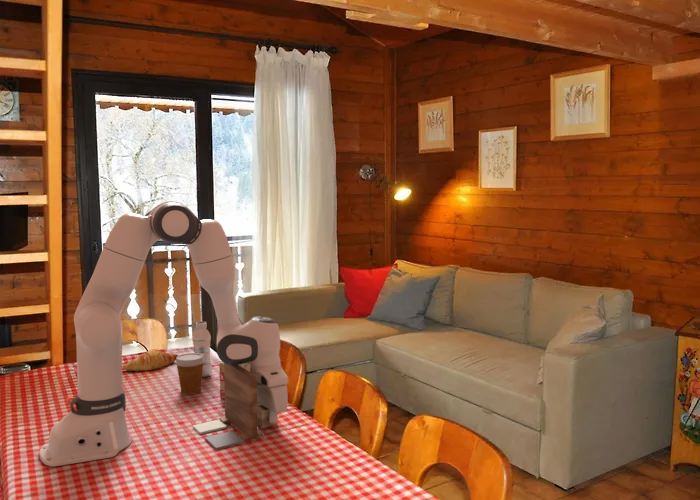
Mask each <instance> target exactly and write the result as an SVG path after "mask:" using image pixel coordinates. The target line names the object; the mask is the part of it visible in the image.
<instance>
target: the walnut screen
mask: <svg viewBox="0 0 700 500" xmlns="http://www.w3.org/2000/svg"><path fill="white" fill-rule="evenodd" d="M224 385H225V399H224V414H225V415H224V416H223V417H219V420H220V421H221V422H223V423H224V424H225V425H226V426H227V425H229V424H230V425H231V426H232V427H233V428H235V430H236V431H238V432H239V434H238V436H239V437H240V438H241V439H243V440H244V443H247V442H254V441H257V440H259V439H261V438H264V432H263V431H262V430H260V429H258V424H257V381H256V375H254V374H252V373H251V372H249V371H248V370H246V369H244V368H243V367H241V366H239V365H228V364H225V363H224Z"/></svg>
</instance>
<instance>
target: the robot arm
mask: <svg viewBox="0 0 700 500" xmlns="http://www.w3.org/2000/svg"><path fill="white" fill-rule="evenodd" d="M158 241H163V242H166V243H169V244H173V245H174V244H176V245H178V244H179V245H185V246H186V247H187V249H188V251H189V254H190V257H191V263H192V267H193V270H194V273H195V276H196V279H197V280H198V283H199V286H200V287H201V288H203V289H204V291H206V292H207V293H208V295H209V296H210V298H211V302H212V304H213V308H214V311H215V317H216V320H217V330H216V335H215V343H216V355H217V357H218V358H219V360H220V362H221V361H222V362H224V363H225V364H228V365H239V364H244V363H248V362H250V368H249V372H251V373H252V374H254V375H256V381H257V406H258V405H264V406H265V407H267V408H268V409H269V415H268V416H267V418H268V419H267V420H268V421H269V422H270V423H273V422H275V416H276V413H278V414H280V413H284V412H286V411H287V409H288V402H289V401H288V400H289V399H288V397H289V396H288V385H287V384H289V377H288V374H286V373H285V371H284V369H283V367H282V366H281V358H280V357H281V356H280V350H281V334H280V328H279V327H280V326H279V325H278V324H279V323H277V322H276V320H275V319H274V318H271V317H269V316H264V315H262V316H261V315H258V316H253V317H252V318H251V319H250V320H248V321H247V322H245V323H243V322H242V320H241V319H240V317H239V314H238V309H237V305H236V302H235V297H234V291H233V290H234V289H233V288H234V282H235V277H236V276H235V265H234V264H235V263H234V257H233V254H232V251H231V250H232V249H231V246H230V244H229V240H228V238H227V235H226V232H225V230H224V228H223V226H222V224H220V222H218V221H217V220H214V219H207V218H206V219H201V220H200V219H199V217H197V216H196V215H195V214H194V212H192V210H191V209H190V208H189V207H187V206H186V205H184V204H182V203H181V202H178V201H174V200H171V201H164V202H162V203H159V204H158V205H156V206H155V207H154V208H152V209H151V210H150V211H149V212H147V213H145V215H141V214H140V213H134V212H130V213H124V214H123V215H120V217H119V218H118V219H117V221H116V222H115V224H114V226H113V227H112V228H111V231H110V233H108V236H107V238H106V240H105V243H104V245H103V248H102V250H101V252H100V255H99V258H98V260H97V262H96V265H95V268H94V270H93V273H92V275H91V278H90V280H89V281H88V284H87V286H86V287H85V289H84V292H83V294H82V296H81V298H80V300H79V303H78V305H77V307H76V309H75V312H74V315H73V323H74V329H75V343H76V375H77V376H76V377H77V378H76V379H77V390H78V391H77V392H78V393H77V396H75V397H74V396H73V395H68V396H67V397H66V398H65V401H66V403H67V405H69V406H70V411H69V412H68V413H67V414H66V415H65V416H64V417H63V418H62V419H60V420H59V421H58V422H57V423H55V424H54V425H53V426H52V428H51V429H50V432H49V435H48V436H49V437H48V443H45V444H43V445H42V446H41V447H40V449H39V453H38V454H39V455H38V456H39V459H40V461H41V462H42V463H43V464H44V465H46V466H48V467H52V468H53V467H59V466H66V465H72V464H76V463H78V464H79V463H83V462H84V463H85V462H91V461H97V460H102V459H107V458H114V457H115V456H117V454H119V452H121V451H122V450H124V449H126V448H127V447H129V446H130V444H131V443H132V437H131V435H130V431H129V428H128V423H127V418H126V407H127V406H126V404H127V402H126V401H127V400H126V393H125V390H124V387H123V386H124V385H123V362H122V361H123V321H122V319H121V314H122V312H123V310H124V307H125V305H127V304H126V303H127V302H128V300H129V298H130V297H131V295H132V293H133V291H134V290H135V288H136V286H137V283H138V281H139V278H140V275H141V273H142V270H143V268H144V265H145V263H146V259H147V257H148V254H149V252H150V250H151V248H152V247H153V245H154V244H155V243H156V242H158Z"/></svg>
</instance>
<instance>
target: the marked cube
mask: <svg viewBox="0 0 700 500" xmlns="http://www.w3.org/2000/svg"><path fill="white" fill-rule="evenodd" d="M268 415H269V409H268V408H267V407H265V406H264V405H258V406H257V426H258V427H260V428H262V429H263V428H267V427H273V426H276V425H279V417H278V415H279V413H276V416H275V422H273V423H270V422H269V421H268V420H267V419H268V418H267V416H268Z"/></svg>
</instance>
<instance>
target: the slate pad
mask: <svg viewBox="0 0 700 500" xmlns="http://www.w3.org/2000/svg"><path fill="white" fill-rule="evenodd" d="M204 440H205V441H206V442H207V443H208V444H209V445H210V446H211V447H212V448H213V449H214V450H215V451H218V450H221V449H225V448H230V447H232V446H233V447H234V446H237V445H238V446H239V445H241V444H244V443H245V442H244V440H243V439H241V438H240V437H239V434H237V433H236V432H234V431H233V430H231V431H227V432H221V433H218V434H214V435H210V436H205V437H204Z"/></svg>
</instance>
